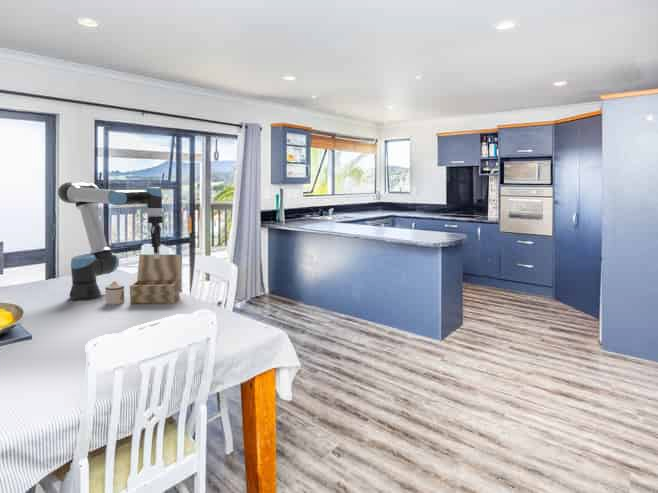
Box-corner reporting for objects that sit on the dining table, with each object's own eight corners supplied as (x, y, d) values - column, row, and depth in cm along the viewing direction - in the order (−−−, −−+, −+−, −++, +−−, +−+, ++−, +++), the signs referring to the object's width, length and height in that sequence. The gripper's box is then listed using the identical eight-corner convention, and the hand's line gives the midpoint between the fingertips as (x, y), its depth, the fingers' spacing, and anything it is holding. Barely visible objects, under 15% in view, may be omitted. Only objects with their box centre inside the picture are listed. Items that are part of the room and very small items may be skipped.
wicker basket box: (130, 304, 226) (129, 285, 224) (139, 297, 240) (138, 279, 238) (173, 303, 228) (172, 285, 227) (179, 296, 242) (179, 279, 241)
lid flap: (139, 254, 242) (140, 255, 243) (137, 279, 238) (137, 280, 239) (181, 254, 245) (181, 254, 245) (179, 279, 241) (180, 279, 242)
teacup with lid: (124, 304, 225) (123, 282, 224) (105, 305, 222) (103, 283, 220) (125, 298, 236) (124, 278, 235) (107, 300, 233) (106, 279, 231)
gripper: (159, 216, 227) (160, 260, 230) (165, 215, 239) (166, 256, 243) (144, 216, 226) (146, 260, 229) (151, 214, 238) (153, 256, 242)
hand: (156, 258), depth 236 cm, fingers closed
